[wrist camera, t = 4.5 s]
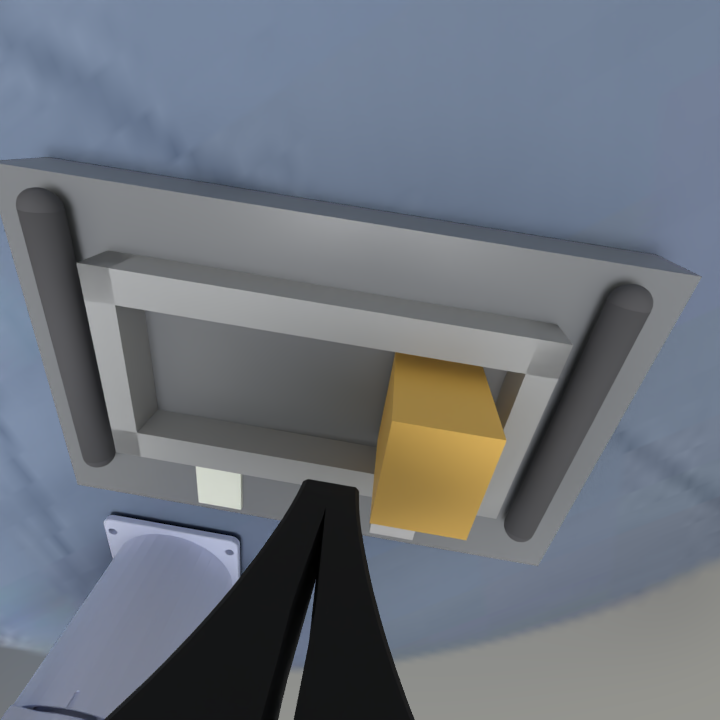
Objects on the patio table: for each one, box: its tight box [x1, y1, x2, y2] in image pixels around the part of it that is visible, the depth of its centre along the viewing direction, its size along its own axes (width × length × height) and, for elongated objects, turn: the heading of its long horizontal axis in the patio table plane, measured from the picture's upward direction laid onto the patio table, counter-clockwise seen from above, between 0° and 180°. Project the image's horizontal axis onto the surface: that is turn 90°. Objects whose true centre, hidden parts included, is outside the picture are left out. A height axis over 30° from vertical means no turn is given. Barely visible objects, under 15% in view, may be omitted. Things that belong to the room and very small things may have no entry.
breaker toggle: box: [370, 352, 507, 540], centre depth 13 cm, size 4×3×4 cm
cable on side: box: [16, 187, 116, 468], centre depth 15 cm, size 11×1×1 cm, turn 172°
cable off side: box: [504, 284, 653, 542], centre depth 15 cm, size 11×1×1 cm, turn 172°
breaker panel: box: [0, 157, 701, 566], centre depth 16 cm, size 14×22×4 cm, turn 82°
